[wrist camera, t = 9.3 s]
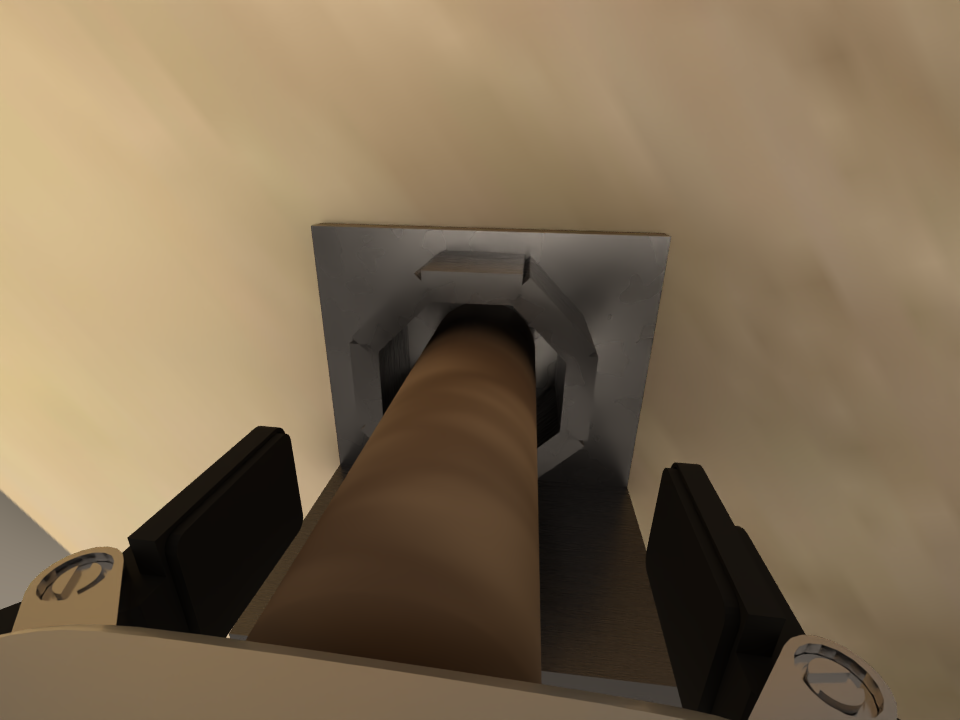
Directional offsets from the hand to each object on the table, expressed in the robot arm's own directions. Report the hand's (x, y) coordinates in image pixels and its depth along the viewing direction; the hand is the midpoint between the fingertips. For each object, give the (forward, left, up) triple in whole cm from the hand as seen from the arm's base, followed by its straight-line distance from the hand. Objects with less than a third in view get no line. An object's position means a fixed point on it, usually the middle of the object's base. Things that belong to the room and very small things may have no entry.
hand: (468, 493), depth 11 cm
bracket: (+1, +1, -10) cm, 10 cm away
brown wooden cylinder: (+1, 0, -9) cm, 9 cm away
